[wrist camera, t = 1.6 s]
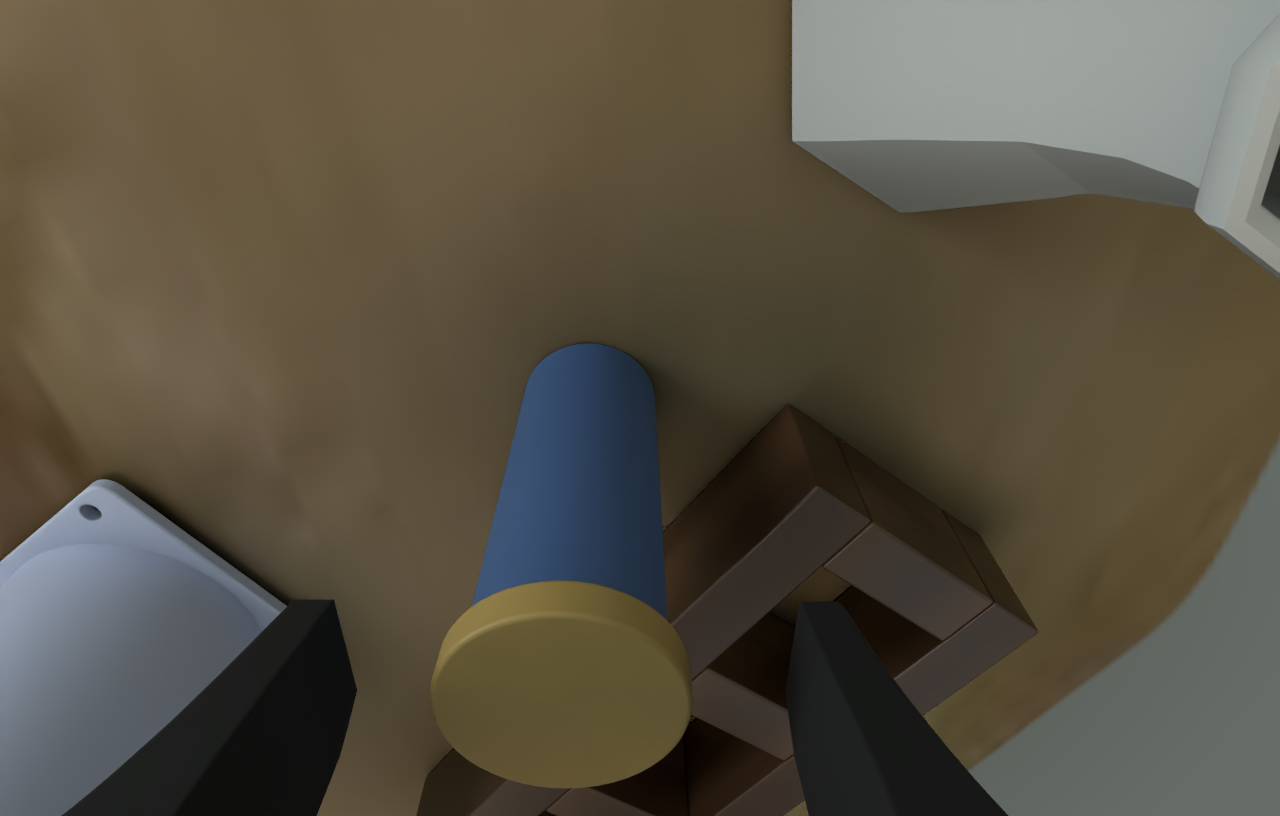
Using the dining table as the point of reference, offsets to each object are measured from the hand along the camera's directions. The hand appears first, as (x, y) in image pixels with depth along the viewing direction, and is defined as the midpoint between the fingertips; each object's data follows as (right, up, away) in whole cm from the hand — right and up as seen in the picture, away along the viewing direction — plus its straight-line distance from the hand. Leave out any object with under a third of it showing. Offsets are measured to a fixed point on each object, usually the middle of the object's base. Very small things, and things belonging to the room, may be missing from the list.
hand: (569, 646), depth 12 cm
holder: (+2, -4, +12) cm, 13 cm away
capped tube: (0, +4, +7) cm, 8 cm away
